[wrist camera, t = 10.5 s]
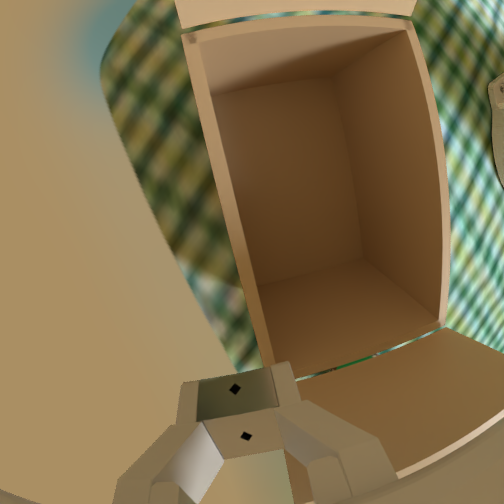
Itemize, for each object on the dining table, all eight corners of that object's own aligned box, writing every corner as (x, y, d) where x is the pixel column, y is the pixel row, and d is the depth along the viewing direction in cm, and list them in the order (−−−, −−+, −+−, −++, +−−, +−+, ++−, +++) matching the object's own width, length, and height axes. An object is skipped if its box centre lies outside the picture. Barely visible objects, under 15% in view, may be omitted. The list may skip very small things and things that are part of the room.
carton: (333, 71, 21) (411, 20, 10) (366, 260, 26) (445, 324, 15) (201, 93, 21) (181, 34, 9) (250, 291, 26) (269, 385, 15)
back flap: (545, 373, 7) (543, 383, 7) (446, 327, 15) (446, 334, 15) (294, 505, 6) (297, 513, 6) (271, 387, 15) (273, 395, 15)
